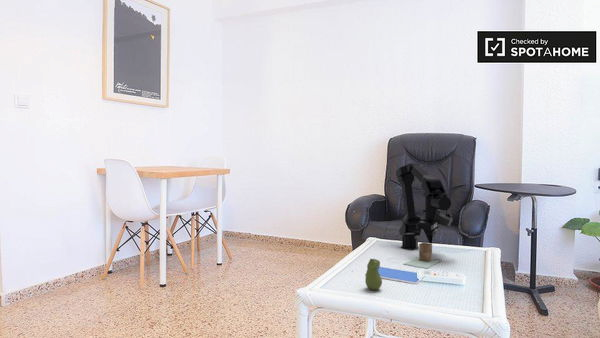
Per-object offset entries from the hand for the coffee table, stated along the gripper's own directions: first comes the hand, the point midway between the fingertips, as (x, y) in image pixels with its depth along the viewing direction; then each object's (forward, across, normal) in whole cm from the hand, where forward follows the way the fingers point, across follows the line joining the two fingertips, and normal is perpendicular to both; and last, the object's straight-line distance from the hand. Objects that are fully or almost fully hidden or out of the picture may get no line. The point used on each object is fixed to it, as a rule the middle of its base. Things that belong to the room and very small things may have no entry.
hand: (430, 243), depth 171 cm
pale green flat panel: (+6, -11, 0) cm, 12 cm away
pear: (+7, -53, 0) cm, 53 cm away
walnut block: (+6, -6, 0) cm, 9 cm away
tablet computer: (+7, -34, +1) cm, 34 cm away
